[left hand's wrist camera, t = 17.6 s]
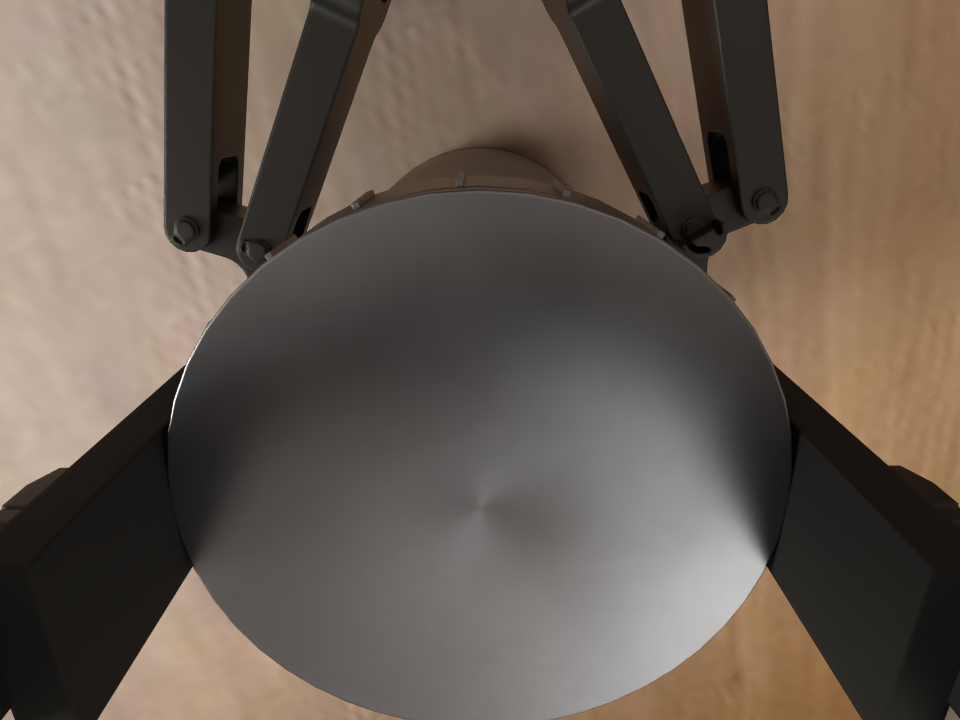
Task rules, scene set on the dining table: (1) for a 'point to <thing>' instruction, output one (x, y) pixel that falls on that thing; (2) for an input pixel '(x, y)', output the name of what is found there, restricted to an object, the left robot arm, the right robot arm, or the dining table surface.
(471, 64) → the dining table surface
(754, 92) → the right robot arm
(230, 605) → the lid
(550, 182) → the jar
